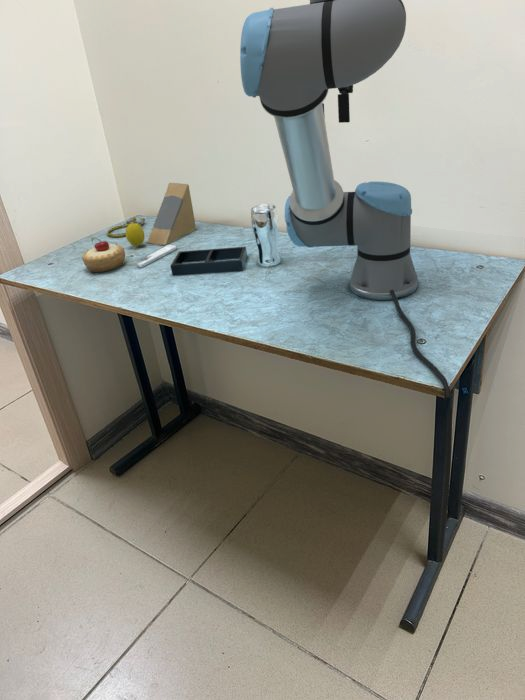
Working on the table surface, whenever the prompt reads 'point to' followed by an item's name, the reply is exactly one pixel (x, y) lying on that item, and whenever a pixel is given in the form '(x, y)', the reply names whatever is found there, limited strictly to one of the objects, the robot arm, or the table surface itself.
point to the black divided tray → (209, 261)
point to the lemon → (135, 234)
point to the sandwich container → (173, 216)
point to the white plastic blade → (157, 255)
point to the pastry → (104, 257)
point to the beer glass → (266, 233)
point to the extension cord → (125, 226)
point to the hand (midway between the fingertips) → (332, 127)
